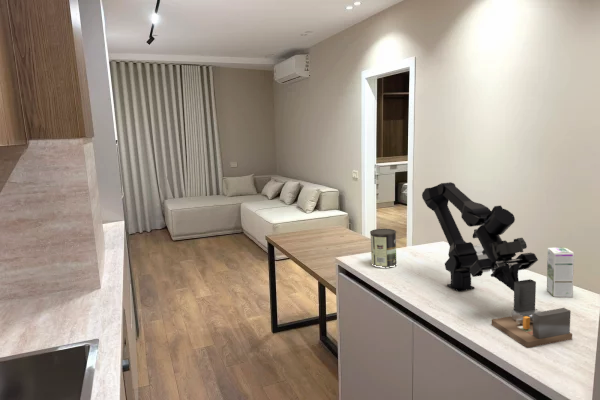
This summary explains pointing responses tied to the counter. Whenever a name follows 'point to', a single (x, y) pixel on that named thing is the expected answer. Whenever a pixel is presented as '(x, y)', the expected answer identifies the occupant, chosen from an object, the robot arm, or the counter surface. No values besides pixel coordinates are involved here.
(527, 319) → the cylinder
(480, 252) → the grey block
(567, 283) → the syrup box
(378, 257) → the coffee can
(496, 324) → the base
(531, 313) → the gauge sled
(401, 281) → the counter surface
